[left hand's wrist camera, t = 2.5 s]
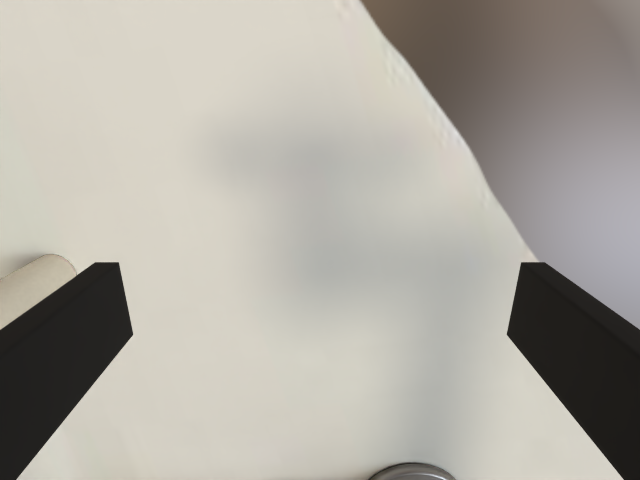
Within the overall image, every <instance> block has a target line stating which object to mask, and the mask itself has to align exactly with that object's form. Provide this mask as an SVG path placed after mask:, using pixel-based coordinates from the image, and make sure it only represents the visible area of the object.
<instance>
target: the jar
mask: <svg viewBox="0 0 640 480" xmlns="http://www.w3.org/2000/svg"><path fill="white" fill-rule="evenodd" d="M75 276H77V275H76V271H75V269H74V267H73V266H72V265H71V263H70V262H69V261H67V260H66V259H65V258H63V257H61V256H58V255H52V254H49V255H44V256H42V257H40V258H38V259H36V260H34V261H33V262H31V263H29V264H27V265H25V266H24V267H22V268H20V269H18V270H16V271H15V272H13V273H11V274H9V275H7V276H5V277H4V278H2V279H0V330H1V329H2V328H3V327H5V326H6V325H8V324H9V323H11V322H12V321H13V320H15V319H16V318H18V317H19V316H20V315H22V314H23V313H25V312H26V311H27V310H29V309H30V308H32V307H33V306H35V305H36V304H37V303H39V302H40V301H42V300H43V299H44V298H46V297H47V296H49V295H50V294H51V293H53V292H54V291H56V290H57V289H58V288H60V287H61V286H63V285H64V284H66V283H67V282H68V281H70V280H71V279H73V278H74V277H75Z"/></svg>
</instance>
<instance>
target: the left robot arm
mask: <svg viewBox="0 0 640 480" xmlns="http://www.w3.org/2000/svg"><path fill="white" fill-rule="evenodd" d="M132 335H133V331H132V326H131V321H130V316H129V311H128V306H127V301H126V296H125V291H124V286H123V281H122V276H121V271H120V266H119V262H95V263H94V264H92V265H91V266H90V267H88V268H87V269H85V270H84V271H82V272H81V273H80V274H78V275H77V276H75V277H74V278H73V279H71V280H70V281H68V282H67V283H66V284H64V285H63V286H61V287H60V288H58V289H57V290H56V291H54V292H53V293H51V294H50V295H49V296H47V297H46V298H44V299H43V300H42V301H40V302H39V303H37V304H36V305H35V306H33V307H32V308H30V309H29V310H27V311H26V312H25V313H23V314H22V315H20V316H19V317H18V318H16V319H15V320H13V321H12V322H11V323H9V324H8V325H6V326H5V327H3V328H2V329H1V330H0V480H16V479H17V478H18V477H19V475H20V474H21V473H22V472H23V470H24V469H25V468H26V467H27V465H28V464H29V463H30V462H31V461H32V459H33V458H34V457H35V456H36V454H37V453H38V452H39V451H40V449H41V448H42V447H43V446H44V444H45V443H46V442H47V441H48V439H49V438H50V437H51V436H52V435H53V433H54V432H55V431H56V430H57V428H58V427H59V426H60V425H61V423H62V422H63V421H64V420H65V418H66V417H67V416H68V415H69V413H70V412H71V411H72V410H73V408H74V407H75V406H76V405H77V404H78V402H79V401H80V400H81V399H82V397H83V396H84V395H85V394H86V392H87V391H88V390H89V389H90V387H91V386H92V385H93V384H94V382H95V381H96V380H97V379H98V378H99V376H100V375H101V374H102V373H103V371H104V370H105V369H106V368H107V366H108V365H109V364H110V363H111V361H112V360H113V359H114V358H115V356H116V355H117V354H118V353H119V351H120V350H121V349H122V348H123V347H124V345H125V344H126V343H127V342H128V340H129V339H130V338H131V337H132ZM507 335H508V337H509V338H510V339H511V340H512V342H513V343H514V344H515V345H516V347H517V348H518V349H519V350H520V351H521V353H522V354H523V355H524V356H525V358H526V359H527V360H528V361H529V363H530V364H531V365H532V366H533V368H534V369H535V370H536V371H537V373H538V374H539V375H540V376H541V378H542V379H543V380H544V381H545V382H546V384H547V385H548V386H549V387H550V389H551V390H552V391H553V392H554V394H555V395H556V396H557V397H558V399H559V400H560V401H561V402H562V404H563V405H564V406H565V407H566V408H567V410H568V411H569V412H570V413H571V415H572V416H573V417H574V418H575V420H576V421H577V422H578V423H579V425H580V426H581V427H582V428H583V430H584V431H585V432H586V433H587V435H588V436H589V437H590V438H591V439H592V441H593V442H594V443H595V444H596V446H597V447H598V448H599V449H600V451H601V452H602V453H603V454H604V456H605V457H606V458H607V459H608V461H609V462H610V463H611V464H612V465H613V467H614V468H615V469H616V470H617V472H618V473H619V474H620V475H621V477H622V478H623V479H624V480H640V330H639V329H638V328H636V327H635V326H634V325H632V324H631V323H629V322H628V321H627V320H625V319H624V318H622V317H621V316H620V315H618V314H617V313H615V312H614V311H613V310H611V309H610V308H608V307H607V306H605V305H604V304H603V303H601V302H600V301H598V300H597V299H596V298H594V297H593V296H591V295H590V294H589V293H587V292H586V291H584V290H583V289H581V288H580V287H579V286H577V285H576V284H574V283H573V282H572V281H570V280H569V279H567V278H566V277H565V276H563V275H562V274H560V273H559V272H558V271H556V270H555V269H553V268H552V267H550V266H549V265H548V264H546V263H544V262H521V266H520V271H519V276H518V281H517V286H516V291H515V296H514V301H513V306H512V311H511V316H510V321H509V326H508V331H507ZM370 480H455V478H454V477H453V476H451V475H450V474H449V473H448V472H446V471H444V470H442V469H440V468H437V467H435V466H431V465H426V464H403V465H398V466H394V467H391V468H388V469H386V470H384V471H382V472H380V473H378V474H376V475H375V476H374V477H372V478H371V479H370Z"/></svg>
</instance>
